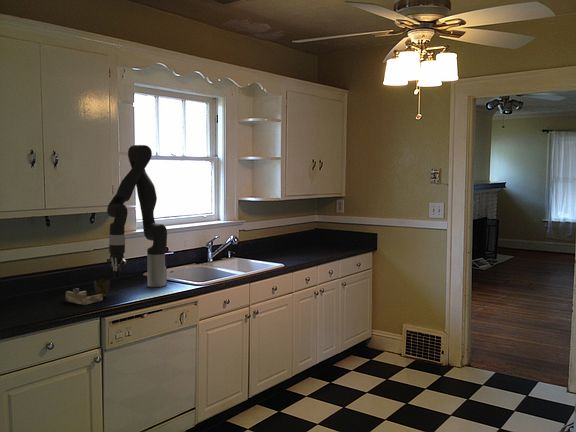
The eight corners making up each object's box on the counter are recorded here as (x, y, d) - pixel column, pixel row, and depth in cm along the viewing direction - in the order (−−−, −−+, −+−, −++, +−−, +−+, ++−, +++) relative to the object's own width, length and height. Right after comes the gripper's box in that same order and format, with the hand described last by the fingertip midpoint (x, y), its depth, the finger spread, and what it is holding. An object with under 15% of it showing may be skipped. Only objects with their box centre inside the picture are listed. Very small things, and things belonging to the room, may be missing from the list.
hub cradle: (84, 297, 270) (84, 283, 269) (102, 300, 263) (102, 286, 262) (65, 301, 260) (64, 287, 260) (83, 305, 253) (83, 290, 253)
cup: (104, 294, 276) (104, 278, 275) (113, 296, 271) (113, 280, 270) (91, 297, 270) (90, 280, 269) (99, 299, 265) (99, 282, 265)
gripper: (132, 244, 276) (132, 278, 277) (113, 242, 283) (113, 276, 284) (120, 245, 270) (120, 280, 271) (101, 243, 277) (101, 277, 278)
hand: (116, 278), depth 277 cm, fingers closed
